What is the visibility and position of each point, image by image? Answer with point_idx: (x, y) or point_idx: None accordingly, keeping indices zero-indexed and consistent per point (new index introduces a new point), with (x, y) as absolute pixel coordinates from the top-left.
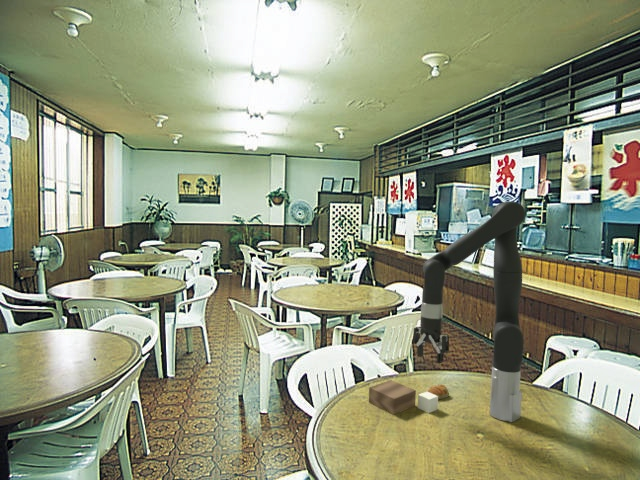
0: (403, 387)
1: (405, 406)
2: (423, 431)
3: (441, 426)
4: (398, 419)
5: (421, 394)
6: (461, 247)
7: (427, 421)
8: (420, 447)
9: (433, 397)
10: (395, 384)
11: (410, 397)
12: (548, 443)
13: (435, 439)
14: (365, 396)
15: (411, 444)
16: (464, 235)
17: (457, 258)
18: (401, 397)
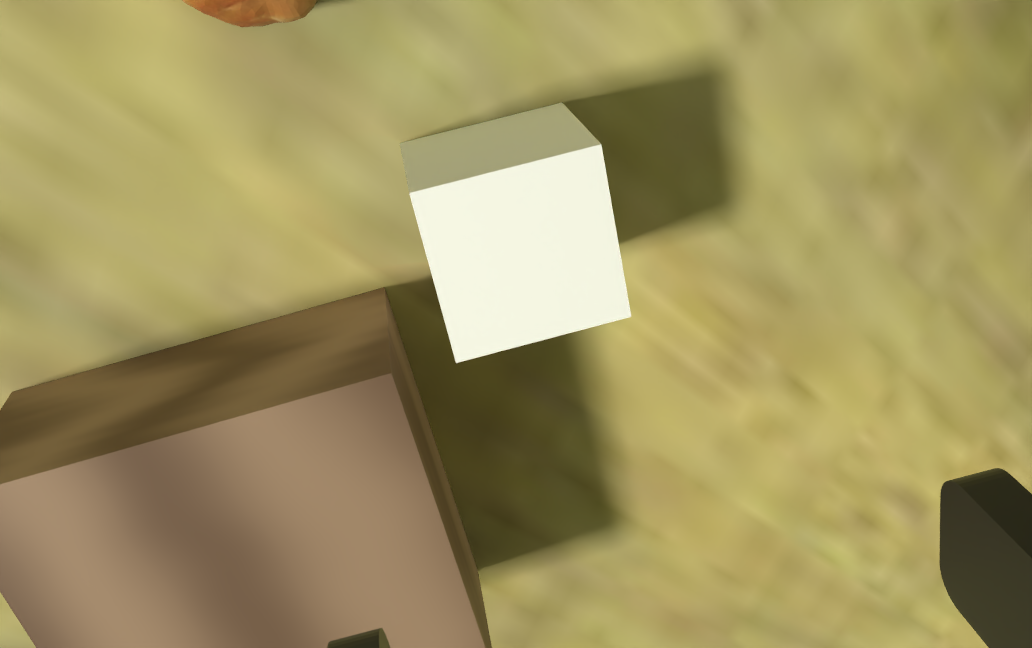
0: (248, 468)
1: (435, 450)
2: (823, 488)
3: (848, 304)
4: (570, 569)
5: (468, 324)
6: None
7: (716, 366)
8: None
9: (604, 231)
10: (121, 514)
11: (418, 427)
12: None
13: (956, 470)
14: (13, 643)
15: (901, 643)
16: None
17: None
18: (466, 585)
